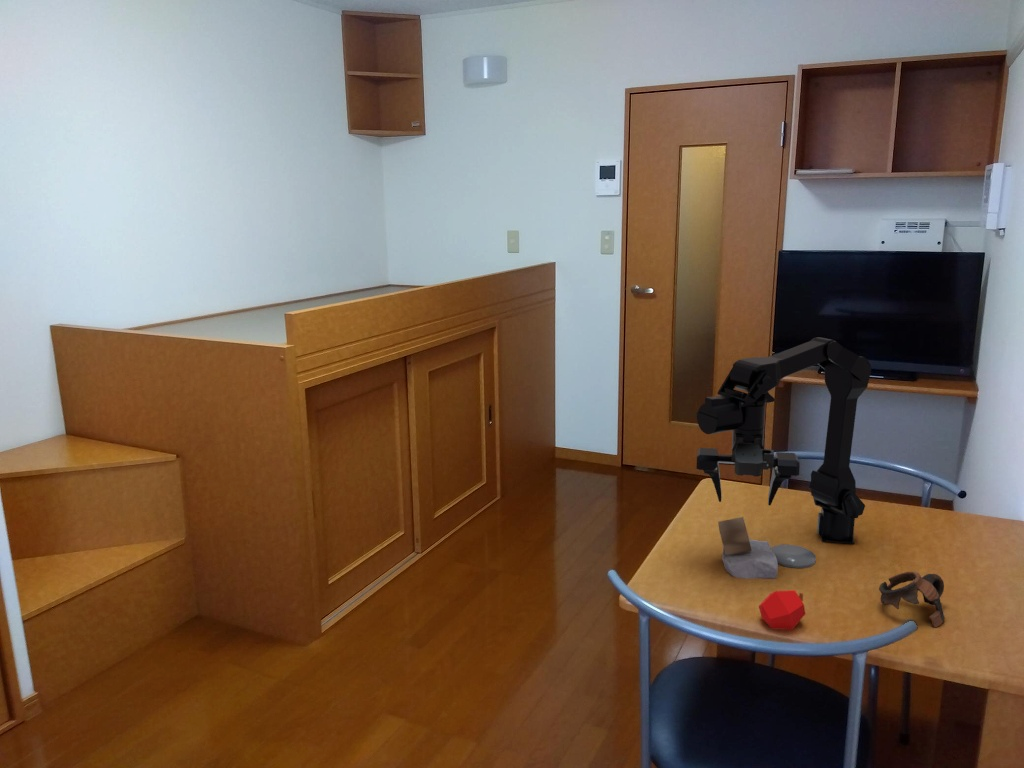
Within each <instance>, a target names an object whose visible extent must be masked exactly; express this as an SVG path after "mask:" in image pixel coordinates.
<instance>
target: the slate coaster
mask: <svg viewBox="0 0 1024 768" xmlns="http://www.w3.org/2000/svg"><path fill="white" fill-rule="evenodd" d="M770 548H771V551H772V552H773V553H774V554H775V556H776V558H777V562H778V566H783V567H785V568H791V569H792V568H793V569H805V568H810V567H812V566H813V565H815V564H816V562H817V561H816V560H817V556H816V554H815V553H814V552H813V551H812V550H811V549H808V548H806V547H803V546H801V545H800V546H799V545H795V544H786V543H785V544H776V545H773V546H770Z"/></svg>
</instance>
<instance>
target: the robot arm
mask: <svg viewBox="0 0 1024 768" xmlns="http://www.w3.org/2000/svg"><path fill="white" fill-rule="evenodd" d="M816 365H818V366H819V367H821V369H823V370H824V384H825V386H826V388H827V390H828V392H829V395H830V400H829V401H830V403H829V410H828V411H829V412H828V417H827V418H828V421H827V426H826V427H827V429H826V436H825V445H824V446H825V447H824V454H823V462H822V464H821V465H820V467H818V469H816V470H812V471H811V473H810V484H809V486H808V489H810V495H811V496H812V498H813V502H814V505H815V506H817V507H820V508H821V509H820V510H821V511H820V512H818V514H817V524H816V525H817V526H816V531H817V535H818V536H819V537H820V540H821V542H825V543H837V544H848V545H854V544H856V543H855V542H856V540H855V538H854V534H855V533H854V532H855V522H856V521H855V520H856V519H859V516H862V515H863V513H864V510H865V508H866V505H865V504H864V502H863V501H862V500H861V498H860V497H859V496H858V495H857V494H856V491H857V490H856V488H857V487H856V479H855V477H854V474H853V472H852V470H851V467H850V464H851V463H850V462H851V455H852V454H851V453H852V448H853V447H852V446H853V438H854V430H855V422H856V421H855V420H856V415H857V405H858V399H859V397H860V396H862V394H863V393H864V391H866V389H867V388H868V386H869V381H870V377H871V373H872V363H871V362H869V360H868V358H866V357H864V356H861V355H858V354H856V353H855V352H853V351H851V350H849V349H848V348H846V347H844V346H842V345H841V344H840V343H839V342H837V341H836V340H834V339H830V338H826V337H821V336H820V337H813V338H811V339H810V340H809V341H807V342H803V343H801V344H798V345H796V346H794V347H791V348H788V349H786V350H782V351H780V352H778V353H775V354H773V355H770V356H764V357H763V356H760V357H758V356H757V357H747V358H741V359H737V361H735V362H734V363H733V364H732V367H731V370H730V371H729V373H728V374H727V375H726V377H725V379H724V381H723V383H722V384H721V386H720V388H719V390H718V391H717V395H718V396H706V397H704V403H703V404H701V405H700V406H699V408H698V411H697V412H696V421H697V425H698V427H699V429H700V430H701V432H703V433H704V434H706V435H712V434H718V433H725V432H730V431H732V436H731V437H732V441H731V454H720V453H718V452H719V451H718V450H719V449H718V448H715V447H714V448H710V447H699V448H698V450H697V451H696V467H695V468H696V469H697V470H699V471H700V470H701V471H703V474H705V475H708V476H709V477H710V479H711V481H712V484H713V486H714V488H715V489H714V490H715V492H716V495H717V499H718V502H719V503H721V502H722V483H721V476H720V475H721V474H720V465H724V466H734V473H735V474H736V475H737V476H742V477H743V476H753V477H760V476H762V475H763V474H762V473H763V470H766V471H768V470H772V472H771V479H770V483H769V484H770V485H769V490H768V497H767V504H768V506H771V505H772V503H773V502H774V501H773V500H775V498H776V497H775V496H776V494H777V493H778V490H779V488H780V486H781V485H782V483H784V481H786V480H790V479H792V476H793V477H797V476H800V460H799V457H798V455H797V454H796V453H795V452H786V451H785V452H782V451H781V452H780V451H776V452H774V449H768V448H767V449H766V448H765V447H764V437H765V422H766V421H765V420H766V405H767V404H769V403H770V404H771V403H774V402H775V401H776V398H775V397H774V396H773V395H772V394H770V391H772V390H773V389H775V388H776V387H778V385H779V383H780V382H781V380H782V379H784V378H786V377H788V376H791V375H793V374H796V373H799V372H801V371H803V370H805V369H806V370H807V369H809V368H811V367H814V366H816ZM740 390H741V391H740ZM743 391H745V392H743ZM746 392H747V393H746Z"/></svg>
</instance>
